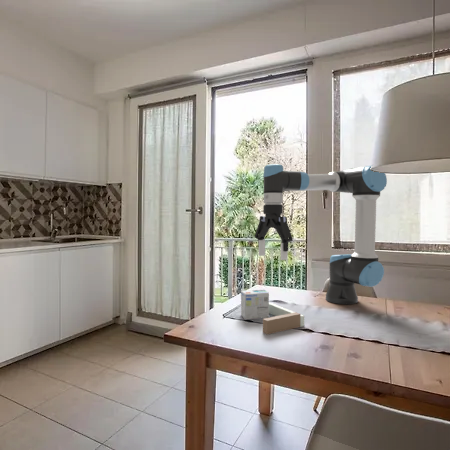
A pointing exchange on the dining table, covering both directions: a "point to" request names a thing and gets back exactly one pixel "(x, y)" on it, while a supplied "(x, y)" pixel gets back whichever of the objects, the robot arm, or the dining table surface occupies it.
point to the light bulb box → (254, 304)
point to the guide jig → (281, 320)
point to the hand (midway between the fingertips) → (272, 257)
